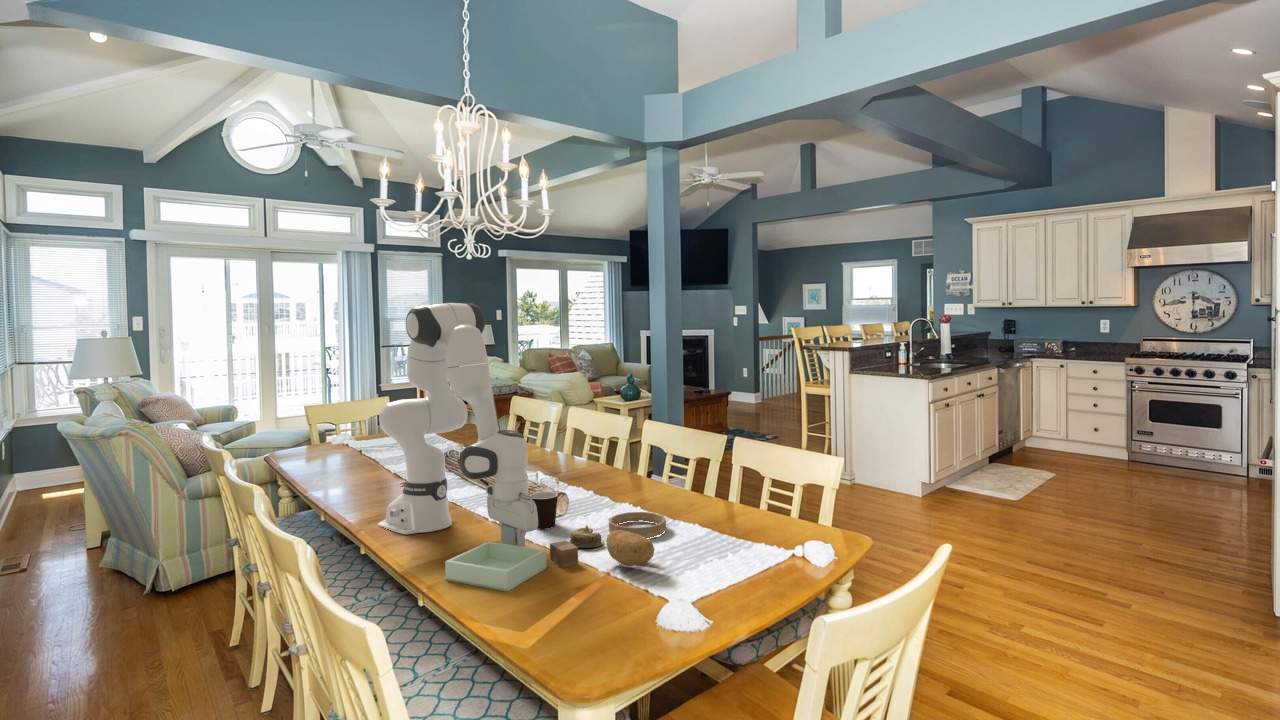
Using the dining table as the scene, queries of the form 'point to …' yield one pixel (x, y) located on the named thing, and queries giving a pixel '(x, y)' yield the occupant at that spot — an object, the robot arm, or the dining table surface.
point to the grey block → (509, 535)
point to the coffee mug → (545, 508)
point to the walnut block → (564, 553)
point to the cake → (585, 538)
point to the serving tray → (496, 566)
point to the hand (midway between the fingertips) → (512, 540)
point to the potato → (629, 548)
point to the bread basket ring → (637, 516)
